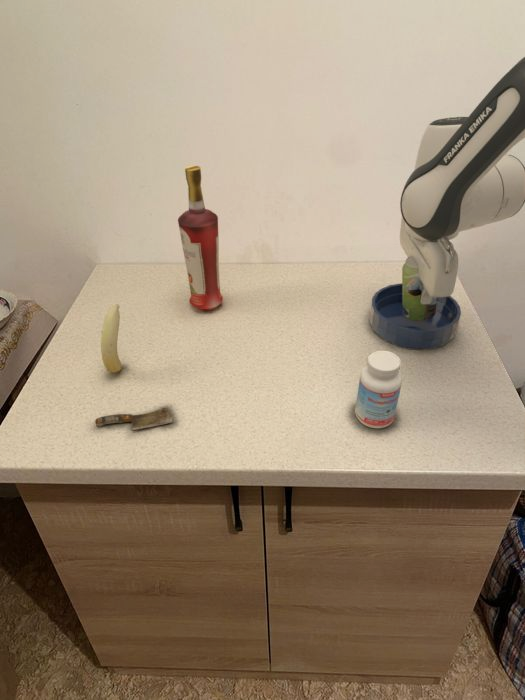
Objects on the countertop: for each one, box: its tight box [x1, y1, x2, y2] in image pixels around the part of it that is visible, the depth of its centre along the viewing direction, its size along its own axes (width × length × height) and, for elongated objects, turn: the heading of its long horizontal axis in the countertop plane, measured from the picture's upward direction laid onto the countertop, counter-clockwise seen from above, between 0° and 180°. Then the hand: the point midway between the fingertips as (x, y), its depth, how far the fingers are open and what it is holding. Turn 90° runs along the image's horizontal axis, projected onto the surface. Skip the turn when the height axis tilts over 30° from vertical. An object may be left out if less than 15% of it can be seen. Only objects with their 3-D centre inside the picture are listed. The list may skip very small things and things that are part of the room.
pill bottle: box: [354, 350, 403, 429], centre depth 75 cm, size 6×6×11 cm
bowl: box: [368, 282, 462, 351], centre depth 96 cm, size 16×16×4 cm
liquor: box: [177, 165, 224, 312], centre depth 95 cm, size 7×7×28 cm
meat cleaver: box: [94, 406, 174, 431], centre depth 78 cm, size 12×1×5 cm
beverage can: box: [401, 256, 437, 321], centre depth 92 cm, size 6×7×12 cm
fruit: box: [100, 303, 122, 374], centre depth 84 cm, size 6×12×3 cm
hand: (418, 291), depth 93 cm, fingers closed on beverage can, 5 cm apart
